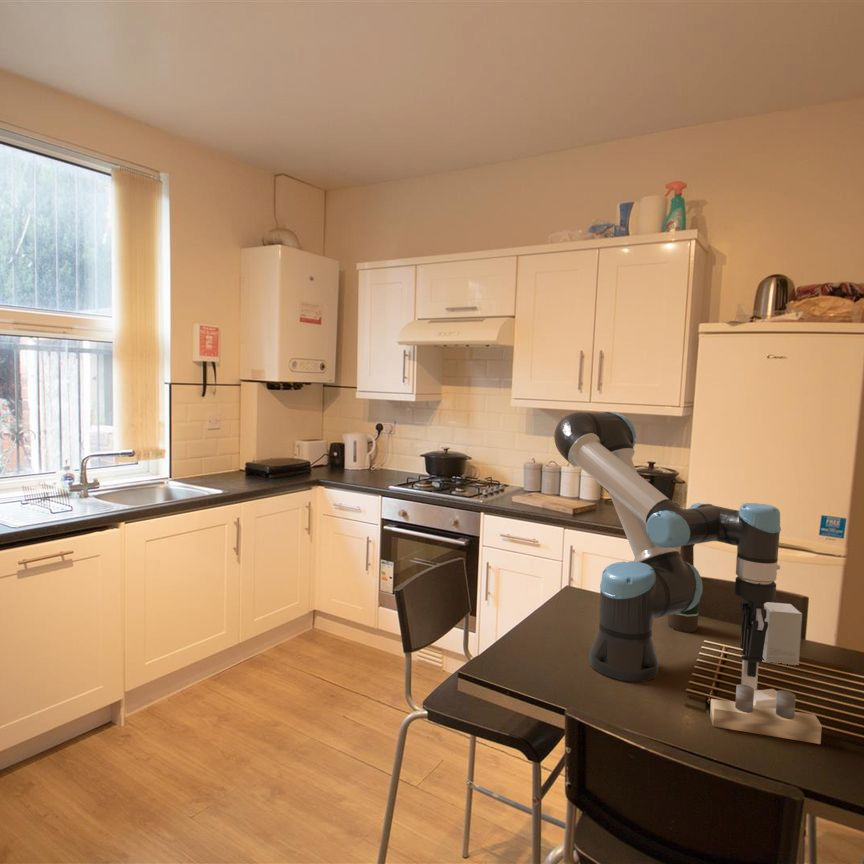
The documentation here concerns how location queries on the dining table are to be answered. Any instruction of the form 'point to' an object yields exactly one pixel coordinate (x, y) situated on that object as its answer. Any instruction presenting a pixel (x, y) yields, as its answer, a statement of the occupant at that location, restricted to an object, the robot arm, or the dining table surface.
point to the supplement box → (782, 634)
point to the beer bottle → (690, 617)
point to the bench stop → (765, 716)
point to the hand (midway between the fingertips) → (748, 688)
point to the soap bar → (765, 698)
